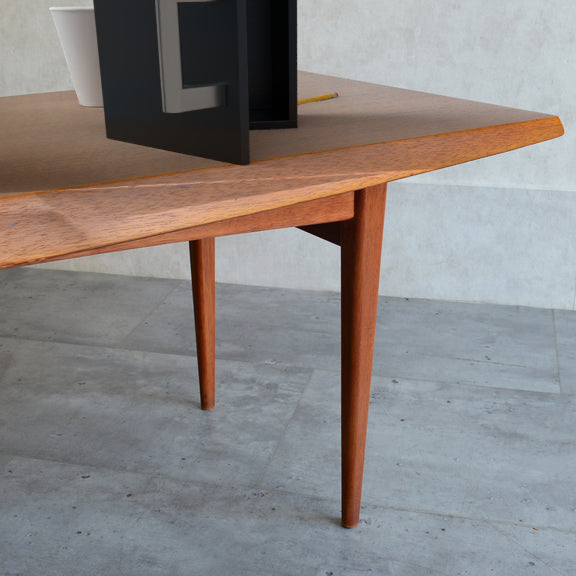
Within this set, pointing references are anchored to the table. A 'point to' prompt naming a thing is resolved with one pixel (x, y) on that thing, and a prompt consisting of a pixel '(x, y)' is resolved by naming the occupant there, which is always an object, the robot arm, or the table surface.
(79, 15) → the cup
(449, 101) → the table surface
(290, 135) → the table surface
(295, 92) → the cupboard
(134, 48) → the door
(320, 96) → the pencil
